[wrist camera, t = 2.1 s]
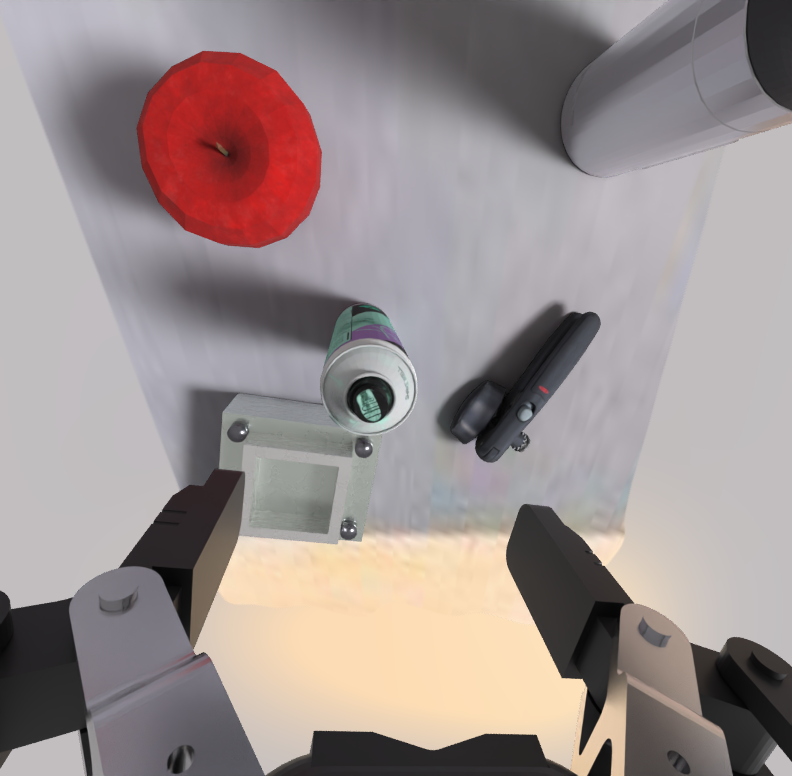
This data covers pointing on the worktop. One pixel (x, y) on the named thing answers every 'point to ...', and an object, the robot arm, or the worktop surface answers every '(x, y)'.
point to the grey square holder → (297, 470)
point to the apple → (230, 150)
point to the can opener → (523, 392)
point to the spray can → (367, 373)
